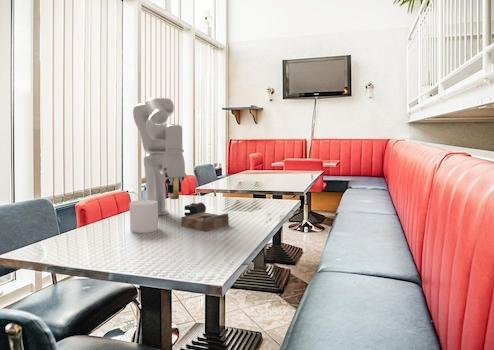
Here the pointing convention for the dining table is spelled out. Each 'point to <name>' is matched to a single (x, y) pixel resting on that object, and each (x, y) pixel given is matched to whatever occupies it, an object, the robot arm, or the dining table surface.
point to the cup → (143, 216)
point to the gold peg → (175, 188)
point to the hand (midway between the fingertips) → (174, 192)
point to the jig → (205, 221)
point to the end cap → (195, 208)
